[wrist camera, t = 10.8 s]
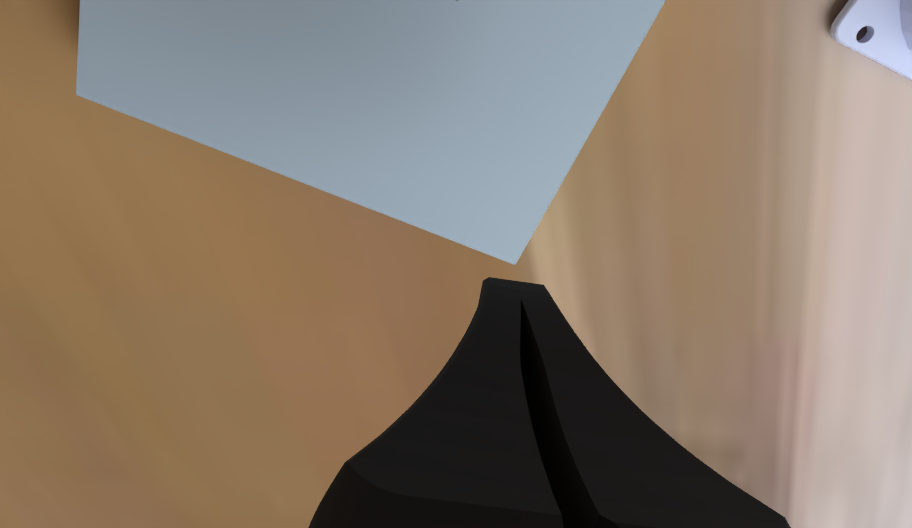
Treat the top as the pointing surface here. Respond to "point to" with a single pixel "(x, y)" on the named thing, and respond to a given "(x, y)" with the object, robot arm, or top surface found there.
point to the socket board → (378, 95)
